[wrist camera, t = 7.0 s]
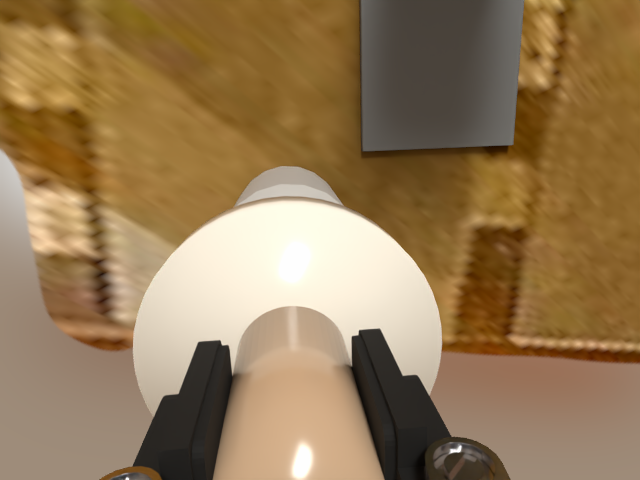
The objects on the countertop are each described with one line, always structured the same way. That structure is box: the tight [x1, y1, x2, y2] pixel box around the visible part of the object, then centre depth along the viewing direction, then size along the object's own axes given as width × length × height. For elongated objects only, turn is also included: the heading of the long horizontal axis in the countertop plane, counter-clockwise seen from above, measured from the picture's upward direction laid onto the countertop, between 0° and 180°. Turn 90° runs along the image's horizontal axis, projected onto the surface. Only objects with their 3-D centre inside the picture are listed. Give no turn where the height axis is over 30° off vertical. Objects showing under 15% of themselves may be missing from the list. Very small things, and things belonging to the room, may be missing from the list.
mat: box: [360, 0, 524, 151], centre depth 30 cm, size 11×11×1 cm
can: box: [234, 166, 343, 207], centre depth 27 cm, size 8×8×12 cm
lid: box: [133, 196, 442, 480], centre depth 11 cm, size 9×9×8 cm
